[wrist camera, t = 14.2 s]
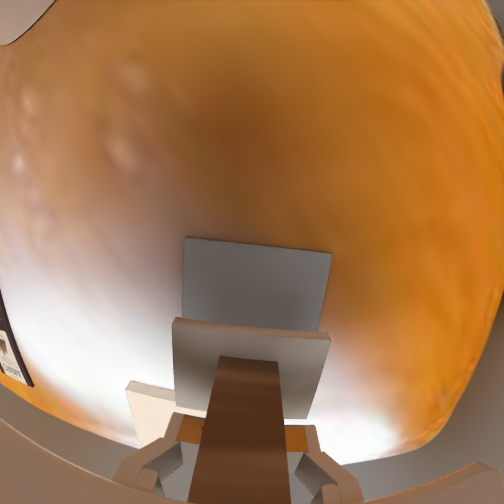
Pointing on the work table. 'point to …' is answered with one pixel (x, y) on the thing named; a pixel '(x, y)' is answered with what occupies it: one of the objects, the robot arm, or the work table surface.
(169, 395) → the tile
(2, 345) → the chocolate bar
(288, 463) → the robot arm
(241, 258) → the slate mat
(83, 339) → the work table surface
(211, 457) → the wood block on plate
